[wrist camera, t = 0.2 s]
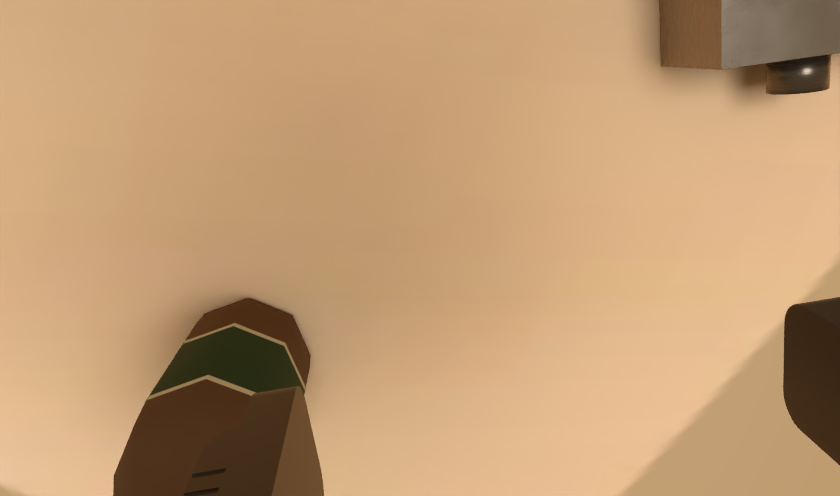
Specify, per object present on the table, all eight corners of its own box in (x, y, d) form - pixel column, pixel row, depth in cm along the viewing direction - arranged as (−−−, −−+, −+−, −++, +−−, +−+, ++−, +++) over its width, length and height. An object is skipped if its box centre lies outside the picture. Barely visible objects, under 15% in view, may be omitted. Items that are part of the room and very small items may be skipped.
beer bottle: (338, 353, 42) (294, 710, 19) (252, 428, 44) (116, 849, 21) (248, 269, 40) (83, 558, 17) (161, 350, 42) (-101, 720, 19)
